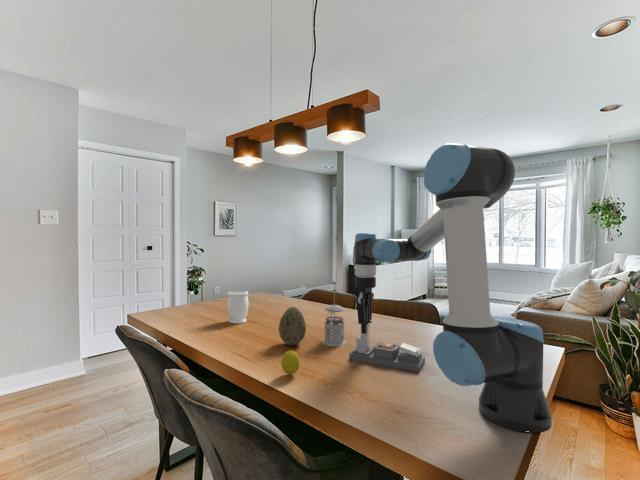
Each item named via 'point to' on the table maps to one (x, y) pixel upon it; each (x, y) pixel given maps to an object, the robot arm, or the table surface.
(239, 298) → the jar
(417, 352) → the rocker switch
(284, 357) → the lemon
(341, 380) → the table surface
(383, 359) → the panel
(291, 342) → the decorative egg
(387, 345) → the push button
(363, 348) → the slide switch
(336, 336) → the french press
